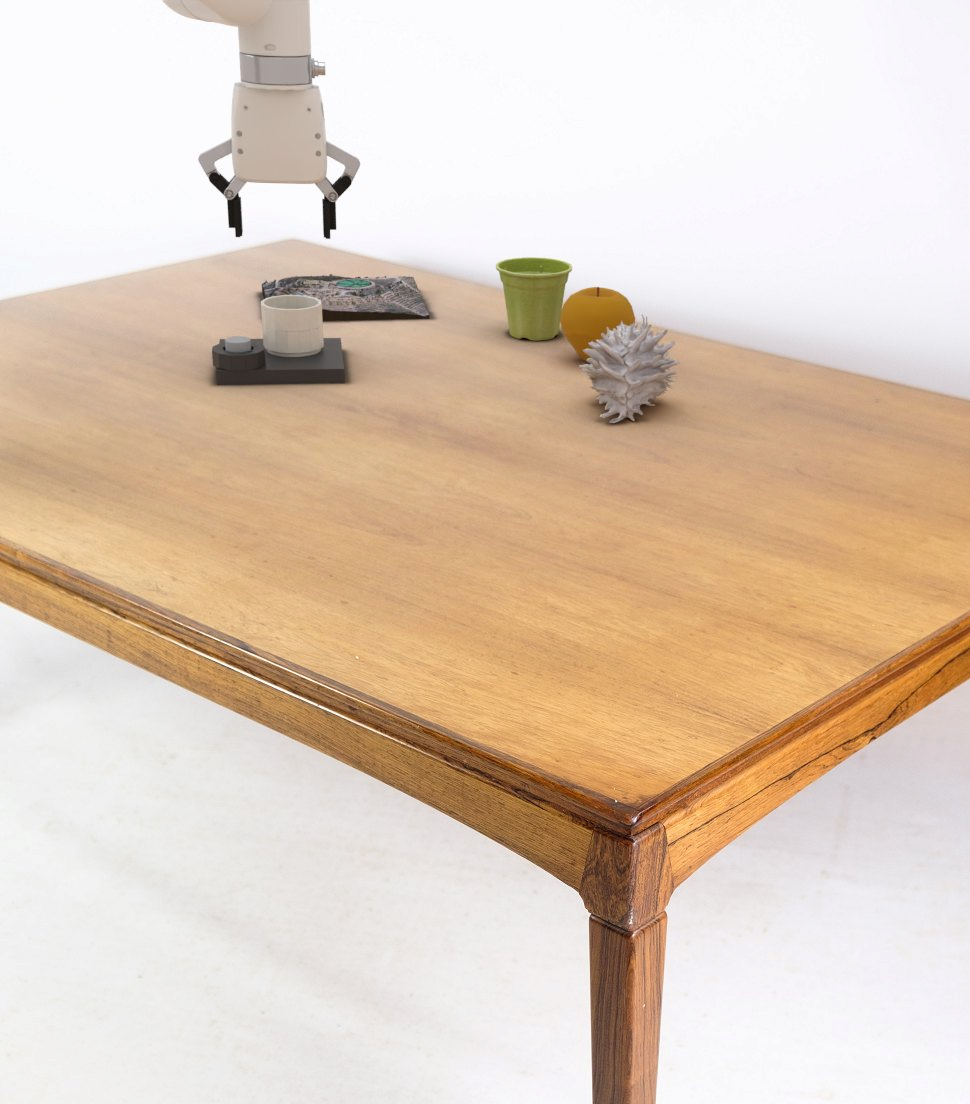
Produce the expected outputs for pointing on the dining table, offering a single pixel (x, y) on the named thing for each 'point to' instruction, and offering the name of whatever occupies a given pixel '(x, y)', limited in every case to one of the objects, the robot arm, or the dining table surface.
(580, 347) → the apple
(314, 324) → the white cup
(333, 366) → the scale
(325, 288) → the terrain model
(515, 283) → the plant pot
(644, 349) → the spiky white shell
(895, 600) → the dining table surface
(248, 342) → the button
